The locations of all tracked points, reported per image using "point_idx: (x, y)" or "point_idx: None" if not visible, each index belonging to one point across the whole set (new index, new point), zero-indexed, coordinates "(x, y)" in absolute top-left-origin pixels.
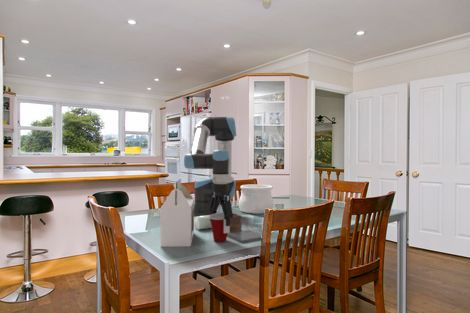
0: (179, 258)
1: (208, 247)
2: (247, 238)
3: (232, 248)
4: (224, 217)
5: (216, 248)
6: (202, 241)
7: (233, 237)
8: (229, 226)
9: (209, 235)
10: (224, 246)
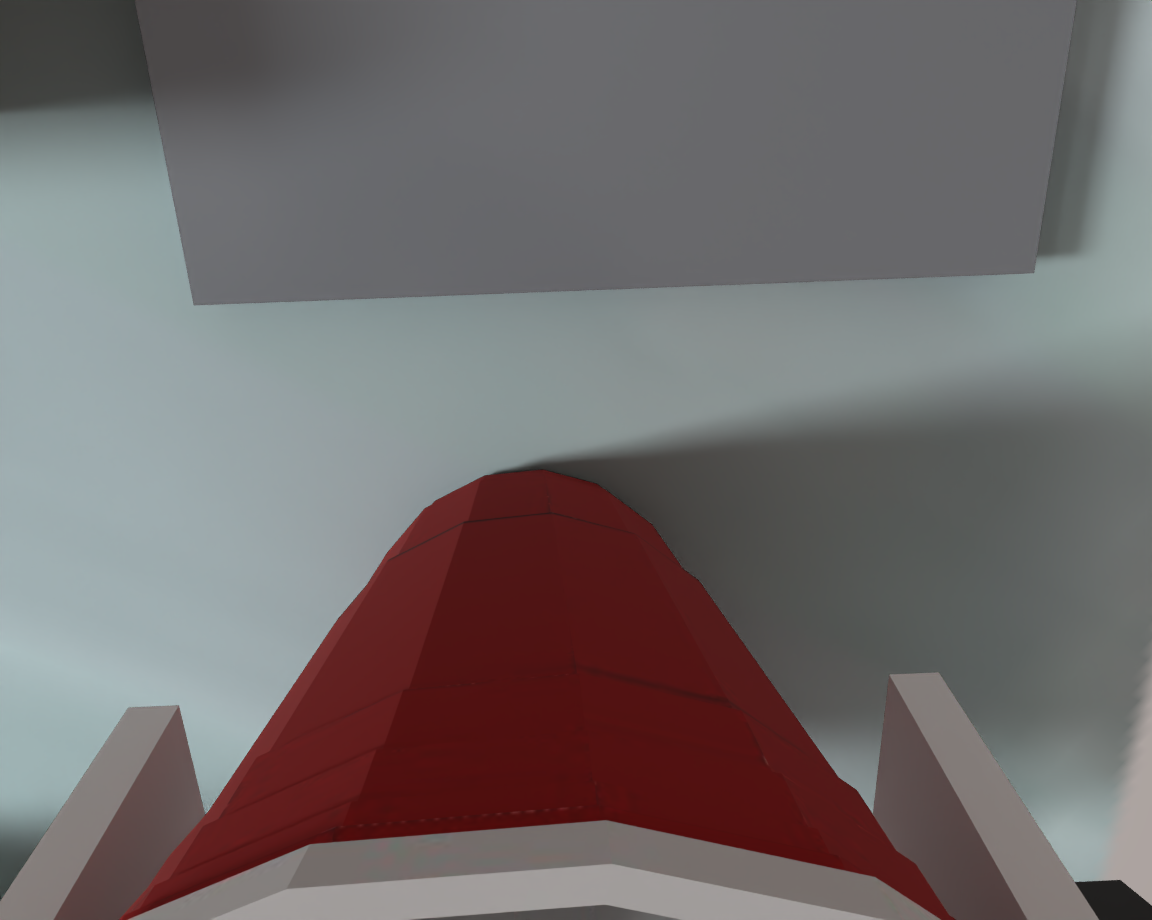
0: None
1: None
2: (994, 13)
3: (1143, 620)
4: (254, 828)
5: None
6: None
7: (606, 285)
8: (1022, 809)
9: (36, 618)
10: None
